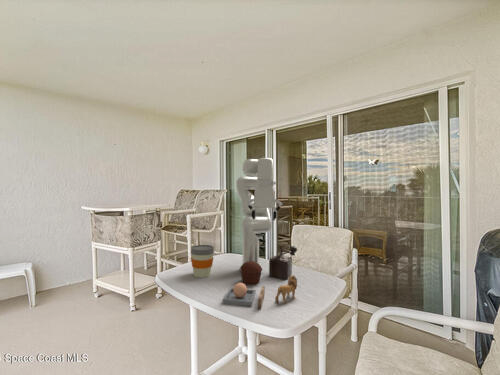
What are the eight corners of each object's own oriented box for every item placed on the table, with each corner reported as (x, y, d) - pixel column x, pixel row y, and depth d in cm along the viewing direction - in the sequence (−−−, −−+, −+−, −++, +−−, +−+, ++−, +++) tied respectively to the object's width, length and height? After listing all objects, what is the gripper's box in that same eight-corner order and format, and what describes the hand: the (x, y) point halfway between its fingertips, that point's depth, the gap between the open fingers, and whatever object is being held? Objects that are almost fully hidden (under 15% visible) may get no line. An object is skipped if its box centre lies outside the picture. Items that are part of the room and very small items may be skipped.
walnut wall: (261, 294, 109) (262, 286, 109) (264, 295, 109) (264, 286, 109) (258, 308, 96) (258, 298, 96) (261, 309, 96) (261, 299, 96)
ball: (234, 293, 108) (234, 280, 108) (248, 294, 107) (248, 281, 107) (231, 299, 102) (231, 285, 102) (245, 300, 101) (245, 286, 101)
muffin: (235, 282, 122) (235, 263, 122) (246, 276, 132) (246, 257, 132) (256, 287, 117) (256, 267, 117) (265, 280, 126) (266, 261, 127)
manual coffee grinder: (267, 276, 132) (268, 243, 132) (275, 270, 142) (275, 240, 142) (295, 282, 125) (296, 247, 125) (301, 275, 135) (301, 243, 135)
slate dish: (230, 291, 112) (230, 287, 112) (255, 293, 110) (255, 289, 110) (223, 303, 100) (223, 299, 100) (251, 306, 98) (251, 301, 98)
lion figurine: (289, 292, 113) (289, 273, 113) (299, 295, 109) (300, 275, 109) (272, 303, 101) (272, 282, 101) (283, 307, 98) (283, 285, 98)
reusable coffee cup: (211, 279, 126) (211, 250, 127) (187, 278, 127) (188, 249, 127) (215, 271, 139) (215, 245, 139) (193, 270, 139) (194, 244, 139)
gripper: (283, 184, 118) (282, 219, 118) (248, 183, 121) (247, 218, 121) (282, 184, 110) (281, 221, 110) (245, 183, 113) (244, 219, 113)
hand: (263, 219), depth 116 cm, fingers open, 9 cm apart
